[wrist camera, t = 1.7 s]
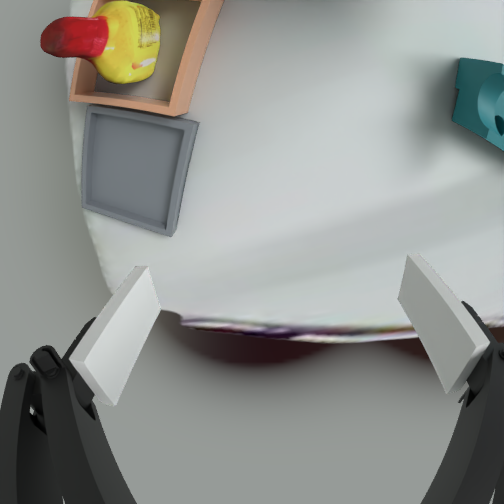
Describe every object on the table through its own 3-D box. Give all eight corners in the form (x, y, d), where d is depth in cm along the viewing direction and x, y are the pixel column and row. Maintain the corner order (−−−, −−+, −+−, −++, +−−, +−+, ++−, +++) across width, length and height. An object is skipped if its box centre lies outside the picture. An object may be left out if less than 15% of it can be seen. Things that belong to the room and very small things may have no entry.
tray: (96, 103, 32) (87, 105, 30) (199, 122, 34) (193, 124, 32) (89, 201, 43) (81, 207, 40) (176, 229, 44) (171, 237, 42)
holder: (115, -4, 22) (97, -10, 18) (225, -2, 23) (216, -14, 19) (88, 96, 32) (69, 100, 28) (187, 112, 33) (174, 116, 29)
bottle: (167, 80, 30) (68, 86, 14) (128, 86, 31) (24, 104, 14) (168, 7, 24) (79, -33, 7) (129, 16, 24) (31, -3, 8)
